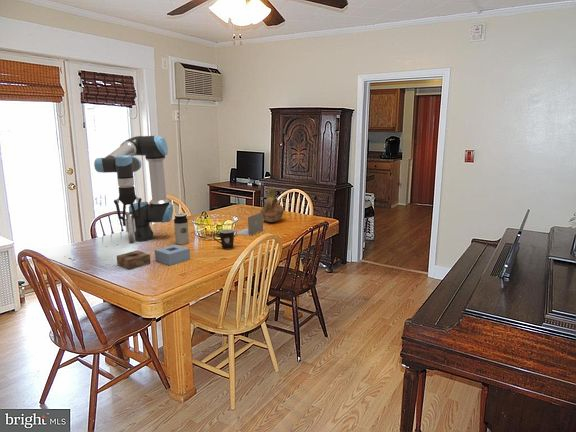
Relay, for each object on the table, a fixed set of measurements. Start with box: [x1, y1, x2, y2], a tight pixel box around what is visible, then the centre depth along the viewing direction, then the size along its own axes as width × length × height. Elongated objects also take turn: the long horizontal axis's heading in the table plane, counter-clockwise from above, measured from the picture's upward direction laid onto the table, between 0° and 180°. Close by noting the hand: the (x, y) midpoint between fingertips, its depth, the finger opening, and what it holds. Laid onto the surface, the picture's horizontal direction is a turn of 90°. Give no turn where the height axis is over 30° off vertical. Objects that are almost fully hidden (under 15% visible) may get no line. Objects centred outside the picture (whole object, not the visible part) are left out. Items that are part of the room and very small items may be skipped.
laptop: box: [236, 211, 264, 237], centre depth 278 cm, size 18×12×13 cm
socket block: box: [154, 243, 191, 266], centre depth 222 cm, size 13×13×6 cm
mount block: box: [116, 250, 151, 271], centre depth 216 cm, size 12×12×5 cm
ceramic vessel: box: [259, 187, 285, 223], centre depth 306 cm, size 17×26×25 cm, turn 172°
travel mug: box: [173, 212, 190, 246], centre depth 252 cm, size 8×8×18 cm
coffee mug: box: [212, 228, 235, 250], centre depth 243 cm, size 12×9×10 cm
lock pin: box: [125, 213, 136, 244], centre depth 212 cm, size 3×3×15 cm
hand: (131, 231), depth 213 cm, fingers closed on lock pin, 3 cm apart
